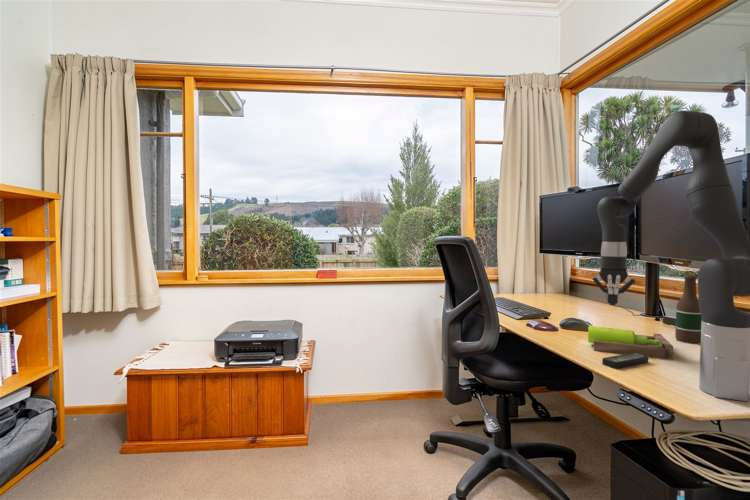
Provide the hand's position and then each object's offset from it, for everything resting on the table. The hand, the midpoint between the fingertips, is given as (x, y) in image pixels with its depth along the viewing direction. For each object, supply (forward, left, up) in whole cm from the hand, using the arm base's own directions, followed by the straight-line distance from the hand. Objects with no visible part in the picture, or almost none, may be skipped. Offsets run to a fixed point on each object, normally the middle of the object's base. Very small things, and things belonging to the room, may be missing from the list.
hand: (612, 304), depth 132 cm
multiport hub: (-18, -2, -15) cm, 24 cm away
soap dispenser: (-2, +7, -11) cm, 13 cm away
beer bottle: (+19, -26, -15) cm, 35 cm away
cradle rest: (0, -5, -14) cm, 15 cm away
